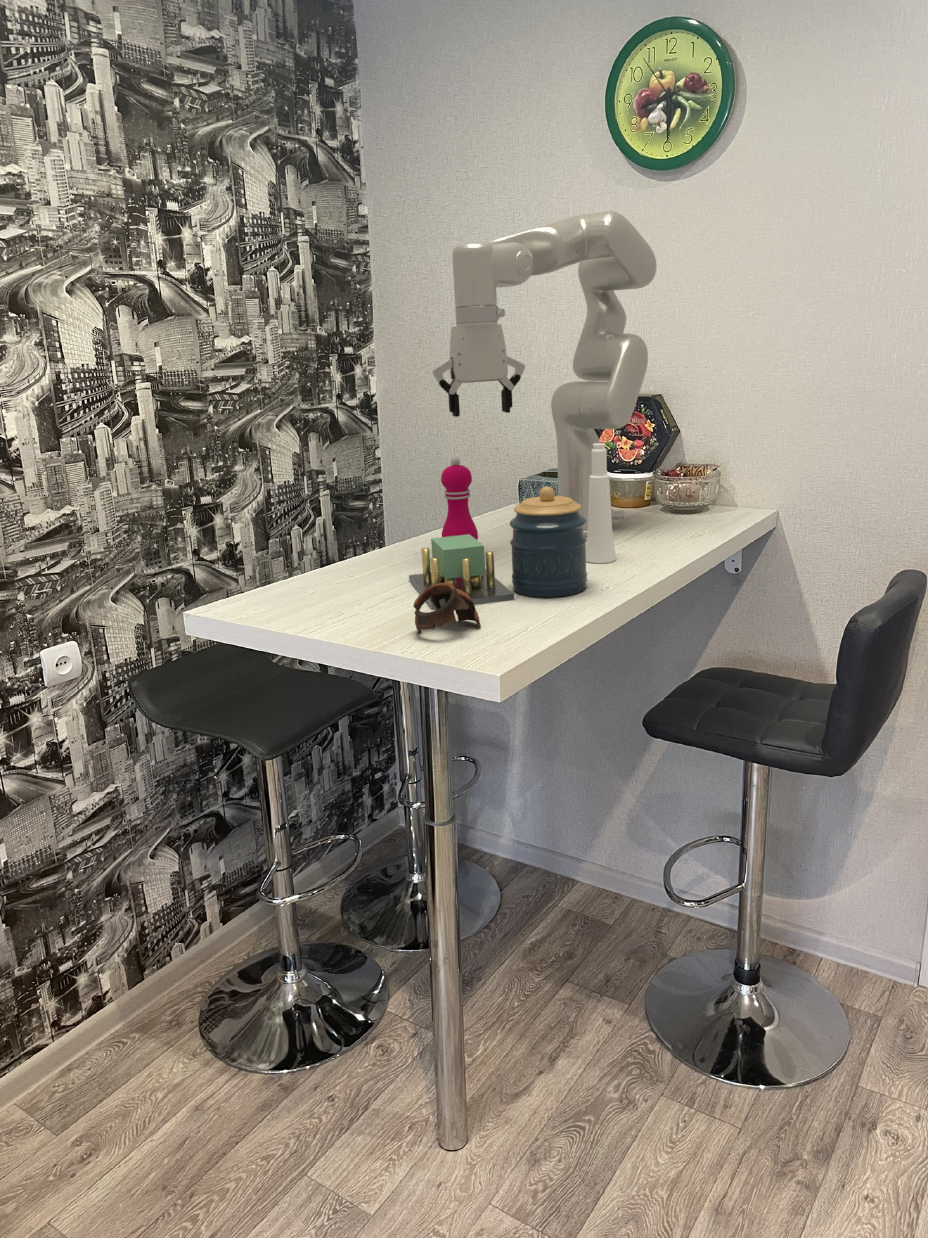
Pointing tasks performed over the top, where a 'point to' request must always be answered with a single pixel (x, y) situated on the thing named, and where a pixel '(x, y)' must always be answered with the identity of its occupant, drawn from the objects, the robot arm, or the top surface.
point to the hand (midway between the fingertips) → (481, 414)
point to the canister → (548, 546)
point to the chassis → (463, 580)
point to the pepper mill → (457, 500)
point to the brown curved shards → (444, 607)
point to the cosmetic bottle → (599, 510)
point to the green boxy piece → (458, 555)
